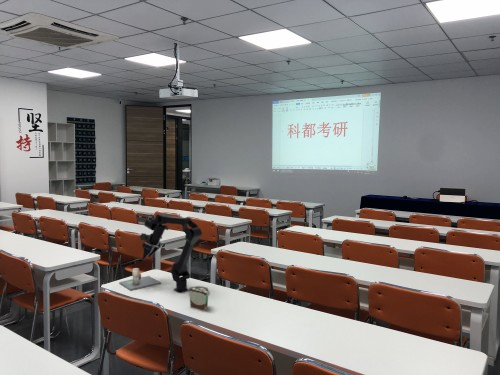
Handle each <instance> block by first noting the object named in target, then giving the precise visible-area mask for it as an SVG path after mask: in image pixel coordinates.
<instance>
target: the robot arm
mask: <svg viewBox="0 0 500 375" xmlns="http://www.w3.org/2000/svg"><path fill="white" fill-rule="evenodd" d="M166 224H172V225H181V226H182V229H183V232H184V233H185V244H184V246H183V248H182V251H181V254H180V256H179V259H178V261H177V262H173V263H172V266H171V268H170V269H171V271H170V273H171V276H172V277H171V278H172V281H174V282H175V288H173V290H174V291H176V292H177V293H183V291H184V292H188V291H187V290H188V289H189V288H188V284H187V282H188V281H187V280H188V279H190V277H191V274H190V272H189V271H188V260H189V258H190V256H191V253H192V251H193V249H194V247H195V244H196V243H197V242H198V241H199V240H200V238H201V237H202V234H203V232H202V229H201V228H200V227H199V225H198V224H197V223H195V222H194V221H193V220H192V219H191V218H190V217H183V216H174V215H173V216H172V215H171V214H168V213H160V214H156V215H155V217H152V216H148V217H147V219H146V220H145V221H144V227H146V228H148V229H149V230H151V231H152V232H151V233H150V234H146V233H143V232H142V233H141V234H140V235H139V241H143V242H142V244H141V248H142V249H143V254H142V259H143V260H145V259H146V258H147V257H148V258H151V257H152V256H153V255H155V253H156V252H157V251H158V250H160V248H161V247H162V246H163V243H162V242H161V239H163V235H164V233H165V231H169V227H168V225H166ZM189 227H190V228H189Z"/></svg>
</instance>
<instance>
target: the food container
mask: <svg viewBox="0 0 500 375" xmlns="http://www.w3.org/2000/svg"><path fill="white" fill-rule="evenodd" d="M187 292H189V293H188V294H189V295H188V296H189V305H190V308H192V309H194V310H195V309H196V310H198V311H202V312H206V311H207V310H208V303H209V296H210V294H211V293H210V289H209V288H208V287H206V286H202V285H201V286H200V285H195V286H194V285H193V286H191V287H189V288H188V291H187Z"/></svg>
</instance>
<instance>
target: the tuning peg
mask: <svg viewBox="0 0 500 375" xmlns="http://www.w3.org/2000/svg"><path fill="white" fill-rule="evenodd" d="M141 277H142V273H141V272H140V268H138V267H135V268H132V279H133V285H138V284H139V280H140V279H141Z"/></svg>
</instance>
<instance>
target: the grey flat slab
mask: <svg viewBox="0 0 500 375" xmlns="http://www.w3.org/2000/svg"><path fill="white" fill-rule="evenodd" d="M118 284H119V285H121V286H122V287H123V288H126V289H127V290H129V291H130V292H133V291H137V290H139V289H145V288H149V287H153V286H158V285H162V282H161V281H159V280H157V279H156V278H153V277H152V276H150V275H147V276H141V279H140V280H139V284H138V285H133V278H132V279H127V280H122V281H119V283H118Z"/></svg>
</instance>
